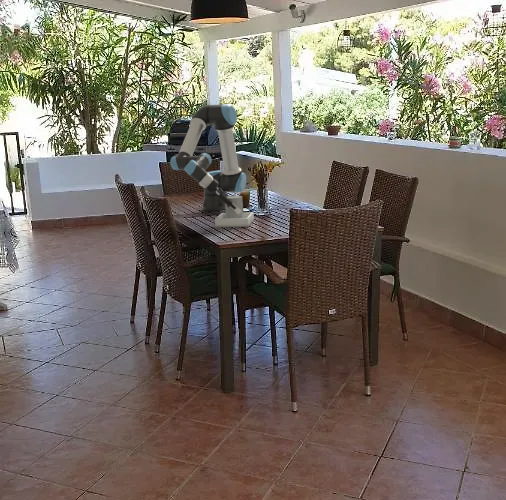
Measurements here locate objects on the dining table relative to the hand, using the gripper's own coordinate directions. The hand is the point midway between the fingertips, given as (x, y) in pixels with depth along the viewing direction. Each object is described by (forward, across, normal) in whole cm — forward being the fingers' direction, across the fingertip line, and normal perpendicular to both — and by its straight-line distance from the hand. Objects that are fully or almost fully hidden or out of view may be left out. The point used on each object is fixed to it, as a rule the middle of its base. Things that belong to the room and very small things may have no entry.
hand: (240, 211), depth 384 cm
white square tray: (+3, 0, -7) cm, 8 cm away
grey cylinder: (+1, 0, -6) cm, 6 cm away
